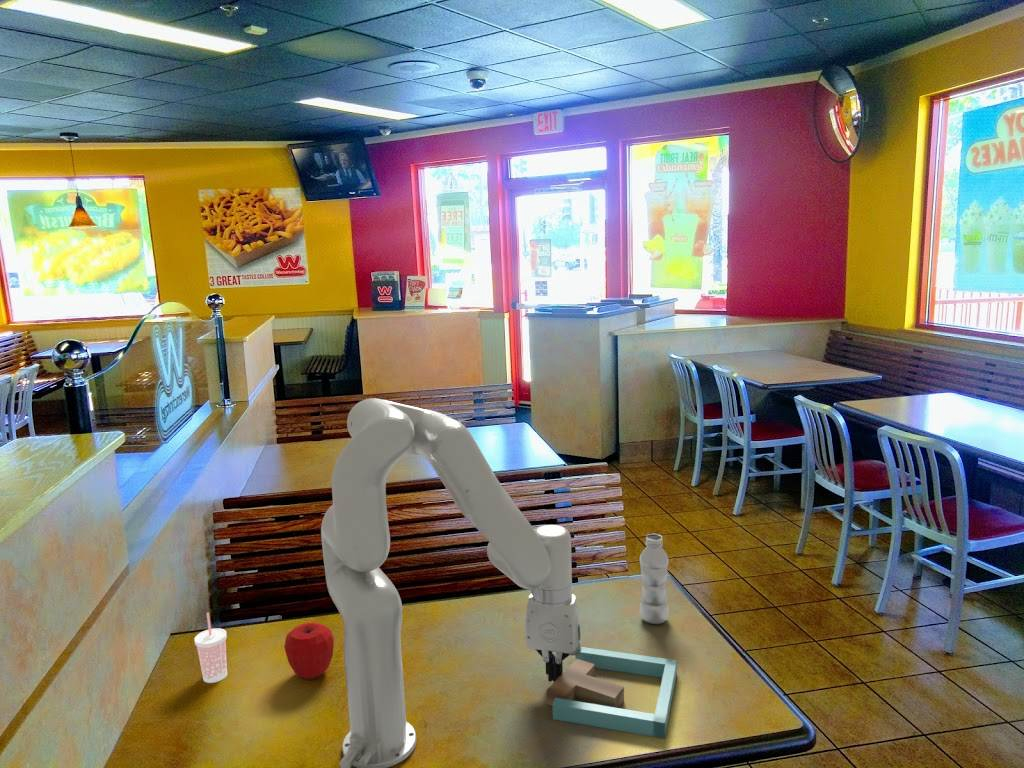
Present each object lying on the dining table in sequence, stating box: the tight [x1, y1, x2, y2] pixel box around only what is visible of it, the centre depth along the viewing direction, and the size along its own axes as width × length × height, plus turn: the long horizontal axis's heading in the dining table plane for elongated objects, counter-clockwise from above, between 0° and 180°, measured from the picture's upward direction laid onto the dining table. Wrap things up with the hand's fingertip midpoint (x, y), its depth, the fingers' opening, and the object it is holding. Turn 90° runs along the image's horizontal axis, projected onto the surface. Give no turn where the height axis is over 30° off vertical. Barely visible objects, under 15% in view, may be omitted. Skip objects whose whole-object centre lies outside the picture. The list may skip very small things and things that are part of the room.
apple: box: [283, 622, 335, 680], centre depth 149 cm, size 10×10×11 cm
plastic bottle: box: [639, 533, 670, 625], centre depth 164 cm, size 6×7×20 cm
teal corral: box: [551, 646, 678, 739], centre depth 139 cm, size 20×20×3 cm
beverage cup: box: [193, 612, 228, 684], centre depth 149 cm, size 6×6×14 cm
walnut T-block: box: [546, 658, 625, 708], centre depth 139 cm, size 12×12×3 cm
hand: (554, 677), depth 143 cm, fingers closed
